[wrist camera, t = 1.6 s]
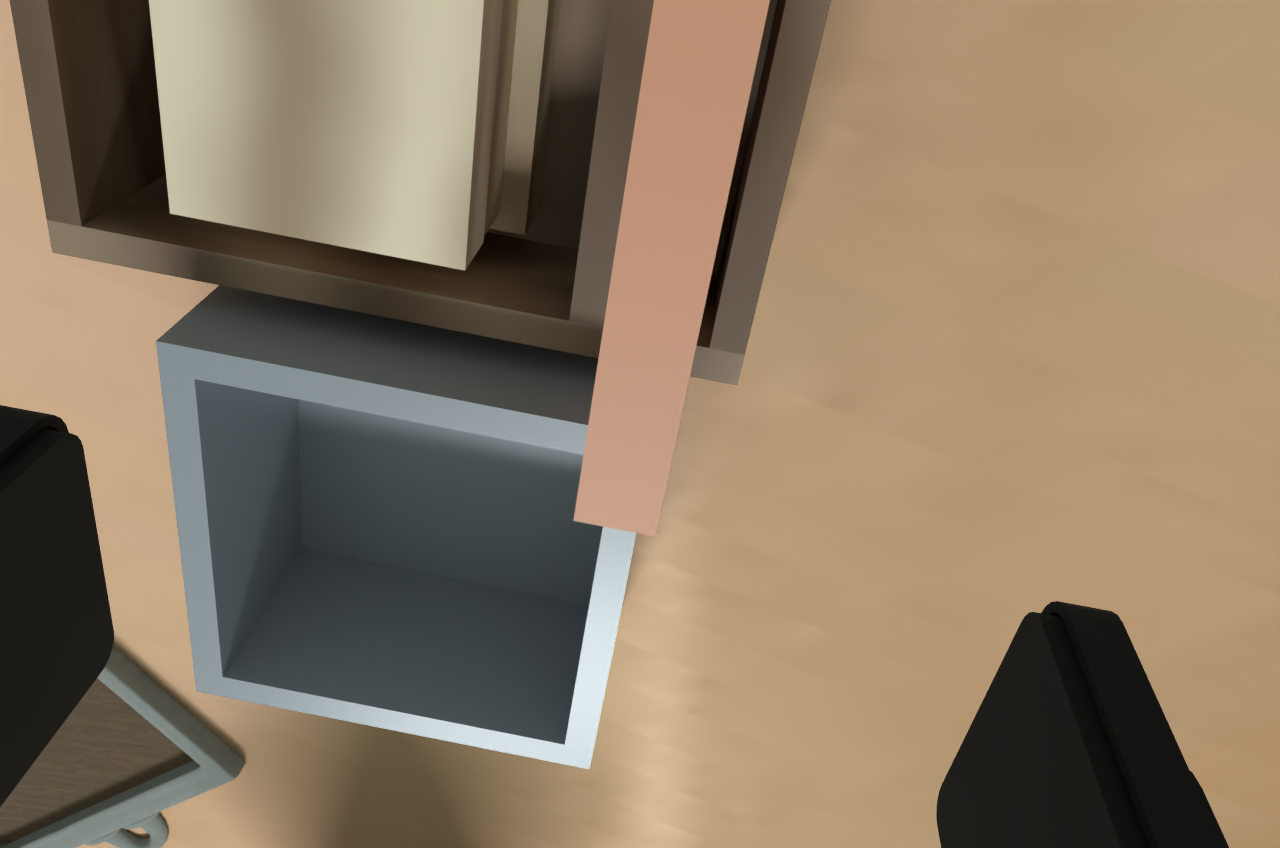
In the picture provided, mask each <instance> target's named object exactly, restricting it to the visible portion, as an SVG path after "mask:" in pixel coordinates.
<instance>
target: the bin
mask: <svg viewBox="0 0 1280 848" xmlns="http://www.w3.org/2000/svg"><path fill="white" fill-rule="evenodd" d="M156 345H157V354H158V362H159V371H160V380H161V388H162V397H163V406H164V414H165V423H166V432H167V440H168V449H169V458H170V466H171V475H172V484H173V492H174V501H175V510H176V518H177V527H178V536H179V544H180V553H181V562H182V570H183V579H184V588H185V596H186V605H187V614H188V622H189V631H190V640H191V648H192V657H193V666H194V674H195V683H196V691H197V692H202V693H207V694H212V695H217V696H222V697H227V698H232V699H237V700H242V701H248V702H253V703H258V704H263V705H268V706H273V707H278V708H283V709H288V710H293V711H298V712H303V713H308V714H313V715H318V716H323V717H328V718H333V719H338V720H343V721H348V722H353V723H358V724H363V725H369V726H374V727H379V728H384V729H389V730H394V731H399V732H404V733H409V734H414V735H419V736H424V737H429V738H434V739H439V740H444V741H449V742H454V743H459V744H464V745H469V746H474V747H479V748H484V749H490V750H495V751H500V752H505V753H510V754H515V755H520V756H525V757H530V758H535V759H540V760H545V761H550V762H555V763H560V764H565V765H570V766H575V767H580V768H585V769H590V764H591V759H592V754H593V749H594V744H595V739H596V734H597V729H598V724H599V719H600V714H601V709H602V704H603V699H604V694H605V689H606V684H607V679H608V674H609V669H610V664H611V659H612V654H613V649H614V644H615V639H616V634H617V629H618V624H619V619H620V614H621V609H622V604H623V599H624V594H625V589H626V584H627V579H628V574H629V569H630V564H631V559H632V554H633V549H634V544H635V539H636V534H637V533H634V532H629V531H624V530H618V529H613V528H608V527H603V526H598V525H593V524H588V523H583V522H578V521H573V520H574V514H575V507H576V501H577V494H578V488H579V481H580V475H581V469H582V462H583V456H584V449H585V443H586V436H587V430H588V423H589V417H590V410H591V404H592V397H593V391H594V385H595V378H596V372H597V365H598V359H599V358H593V357H588V356H583V355H578V354H573V353H568V352H563V351H557V350H552V349H547V348H542V347H537V346H532V345H526V344H521V343H516V342H511V341H506V340H501V339H495V338H490V337H485V336H480V335H475V334H470V333H465V332H459V331H454V330H449V329H444V328H439V327H434V326H428V325H423V324H418V323H413V322H408V321H403V320H398V319H392V318H387V317H382V316H377V315H372V314H367V313H361V312H356V311H351V310H346V309H341V308H336V307H331V306H325V305H320V304H315V303H310V302H305V301H300V300H294V299H289V298H284V297H279V296H274V295H269V294H264V293H258V292H253V291H248V290H243V289H238V288H233V287H227V286H222V285H219V286H218V287H217V288H216V289H215V290H214V291H212V292H211V293H210V294H209V295H208V296H207V297H206V298H204V299H203V300H202V301H201V302H200V303H199V304H198V305H197V306H195V307H194V308H193V309H192V310H191V311H190V312H189V313H187V314H186V315H185V316H184V317H183V318H182V319H181V320H180V321H178V322H177V323H176V324H175V325H174V326H173V327H172V328H170V329H169V330H168V331H167V332H166V333H165V334H164V335H163V336H161V337H160V338H159V339H158V340H157V341H156Z"/></svg>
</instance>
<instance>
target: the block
mask: <svg viewBox="0 0 1280 848" xmlns="http://www.w3.org/2000/svg"><path fill="white" fill-rule="evenodd" d="M769 2H770V0H654V3H653V10H652V16H651V23H650V29H649V35H648V42H647V48H646V55H645V61H644V68H643V74H642V81H641V87H640V94H639V100H638V107H637V113H636V119H635V126H634V132H633V139H632V145H631V152H630V158H629V165H628V171H627V178H626V184H625V191H624V197H623V204H622V210H621V216H620V223H619V229H618V236H617V242H616V249H615V255H614V262H613V268H612V275H611V281H610V288H609V294H608V300H607V307H606V313H605V320H604V326H603V333H602V339H601V346H600V352H599V359H598V365H597V372H596V378H595V385H594V391H593V397H592V404H591V410H590V417H589V423H588V430H587V436H586V443H585V449H584V456H583V462H582V469H581V475H580V481H579V488H578V494H577V501H576V507H575V514H574V520H573V521H578V522H583V523H588V524H593V525H598V526H603V527H608V528H613V529H618V530H624V531H629V532H634V533H639V534H644V535H649V536H654V537H656V533H657V528H658V523H659V519H660V514H661V509H662V505H663V500H664V495H665V491H666V486H667V481H668V476H669V472H670V467H671V462H672V458H673V453H674V448H675V444H676V439H677V434H678V430H679V425H680V420H681V415H682V411H683V406H684V401H685V397H686V392H687V387H688V383H689V378H690V373H691V369H692V364H693V359H694V354H695V350H696V345H697V340H698V336H699V331H700V326H701V322H702V317H703V312H704V307H705V303H706V298H707V293H708V289H709V284H710V279H711V275H712V270H713V265H714V261H715V256H716V251H717V246H718V242H719V237H720V232H721V228H722V223H723V218H724V214H725V209H726V204H727V200H728V195H729V190H730V185H731V181H732V176H733V171H734V167H735V162H736V157H737V153H738V148H739V143H740V139H741V134H742V129H743V124H744V120H745V115H746V110H747V106H748V101H749V96H750V92H751V87H752V82H753V77H754V73H755V68H756V63H757V59H758V54H759V49H760V45H761V40H762V35H763V31H764V26H765V21H766V16H767V12H768V7H769Z"/></svg>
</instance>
